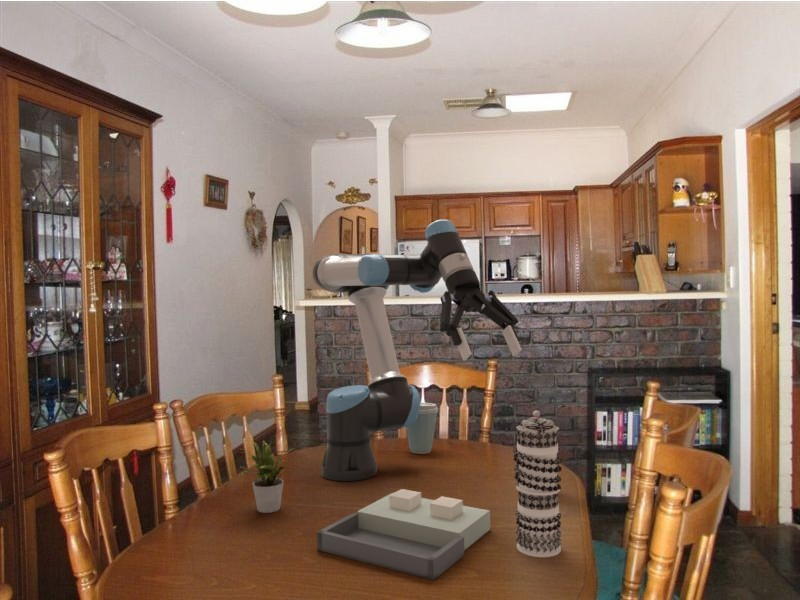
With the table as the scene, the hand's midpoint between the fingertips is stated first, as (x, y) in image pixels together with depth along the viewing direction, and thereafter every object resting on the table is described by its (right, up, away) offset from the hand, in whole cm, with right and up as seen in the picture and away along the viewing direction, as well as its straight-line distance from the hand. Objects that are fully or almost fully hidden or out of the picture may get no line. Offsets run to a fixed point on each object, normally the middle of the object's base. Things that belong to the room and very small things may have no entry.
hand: (493, 355), depth 141 cm
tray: (-22, -37, -16) cm, 46 cm away
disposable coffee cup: (-14, -35, +58) cm, 69 cm away
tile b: (-11, -32, -7) cm, 35 cm away
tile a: (-19, -32, -2) cm, 37 cm away
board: (-15, -36, -5) cm, 40 cm away
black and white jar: (+7, -36, -15) cm, 40 cm away
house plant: (-52, -37, +10) cm, 64 cm away
